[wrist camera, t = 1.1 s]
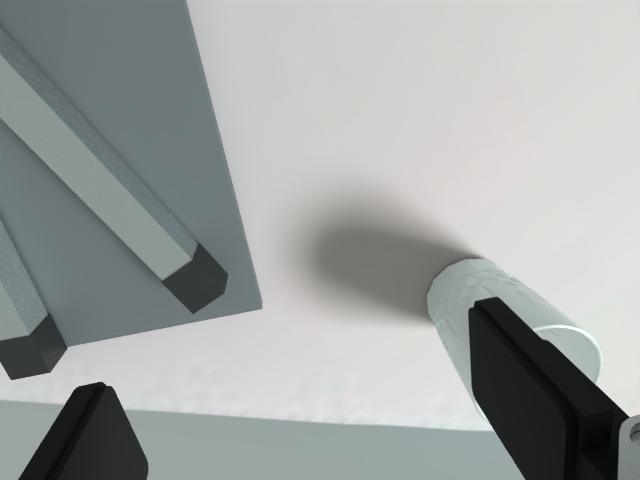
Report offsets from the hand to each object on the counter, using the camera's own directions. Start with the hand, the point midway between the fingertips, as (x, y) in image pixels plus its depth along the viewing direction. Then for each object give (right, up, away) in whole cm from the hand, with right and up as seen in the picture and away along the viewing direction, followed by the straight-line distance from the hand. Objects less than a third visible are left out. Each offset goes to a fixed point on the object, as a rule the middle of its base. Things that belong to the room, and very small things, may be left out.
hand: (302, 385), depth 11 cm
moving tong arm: (-15, +9, +14) cm, 23 cm away
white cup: (+12, -1, +23) cm, 26 cm away
